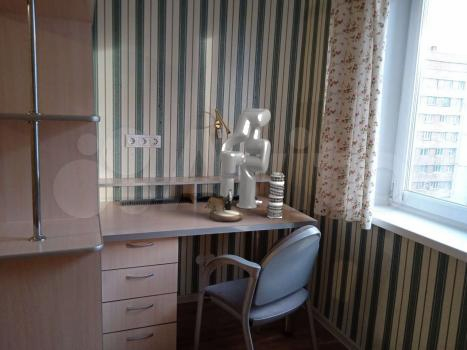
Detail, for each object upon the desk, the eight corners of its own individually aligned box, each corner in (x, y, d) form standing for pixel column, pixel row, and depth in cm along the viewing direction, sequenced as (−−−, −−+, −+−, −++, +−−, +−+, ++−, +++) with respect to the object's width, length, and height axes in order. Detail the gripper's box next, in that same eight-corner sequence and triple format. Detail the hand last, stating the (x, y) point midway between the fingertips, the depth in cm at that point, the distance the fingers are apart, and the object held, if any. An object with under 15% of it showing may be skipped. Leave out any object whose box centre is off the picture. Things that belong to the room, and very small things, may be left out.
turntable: (219, 210, 211) (220, 202, 210) (248, 215, 203) (248, 207, 202) (203, 217, 195) (203, 208, 195) (233, 223, 187) (233, 213, 187)
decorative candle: (262, 215, 208) (265, 171, 204) (275, 214, 213) (278, 171, 209) (273, 219, 200) (276, 174, 197) (286, 218, 206) (289, 173, 202)
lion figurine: (231, 209, 201) (232, 193, 200) (231, 211, 196) (231, 195, 195) (204, 208, 201) (204, 192, 200) (203, 210, 196) (204, 194, 195)
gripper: (217, 173, 203) (215, 205, 206) (225, 178, 187) (224, 213, 190) (230, 173, 205) (228, 205, 208) (239, 178, 189) (238, 212, 192)
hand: (226, 208), depth 199 cm, fingers closed on lion figurine, 4 cm apart
